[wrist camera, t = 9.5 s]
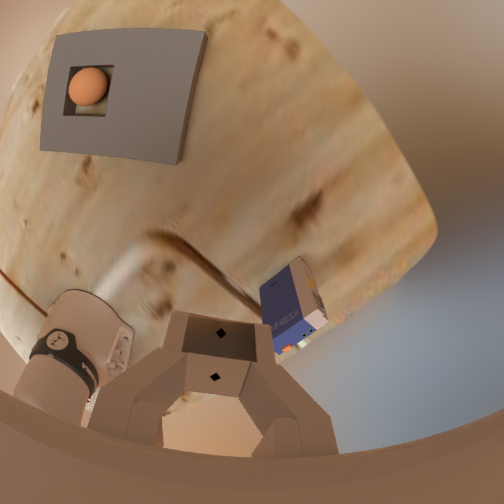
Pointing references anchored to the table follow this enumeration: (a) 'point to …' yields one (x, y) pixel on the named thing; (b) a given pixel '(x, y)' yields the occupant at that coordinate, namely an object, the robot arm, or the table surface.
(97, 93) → the ball
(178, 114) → the pocket board
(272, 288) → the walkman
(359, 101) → the table surface
